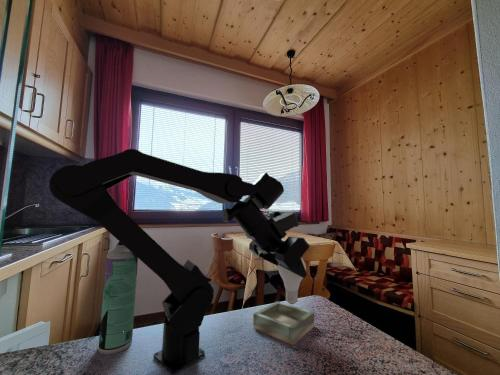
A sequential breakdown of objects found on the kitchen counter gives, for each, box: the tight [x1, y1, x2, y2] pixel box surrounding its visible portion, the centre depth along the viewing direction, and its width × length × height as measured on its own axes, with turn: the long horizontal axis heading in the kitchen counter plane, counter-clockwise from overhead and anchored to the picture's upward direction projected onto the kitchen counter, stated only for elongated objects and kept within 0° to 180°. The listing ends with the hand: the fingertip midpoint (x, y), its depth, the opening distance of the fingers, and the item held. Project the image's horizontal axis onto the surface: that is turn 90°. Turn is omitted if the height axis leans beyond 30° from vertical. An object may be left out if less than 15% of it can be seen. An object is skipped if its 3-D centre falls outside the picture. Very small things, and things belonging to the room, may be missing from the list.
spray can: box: [97, 240, 139, 355], centre depth 43 cm, size 6×6×20 cm
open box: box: [252, 300, 315, 346], centre depth 50 cm, size 10×10×3 cm
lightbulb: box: [277, 257, 307, 305], centre depth 50 cm, size 6×6×11 cm
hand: (296, 272), depth 51 cm, fingers closed on lightbulb, 6 cm apart
